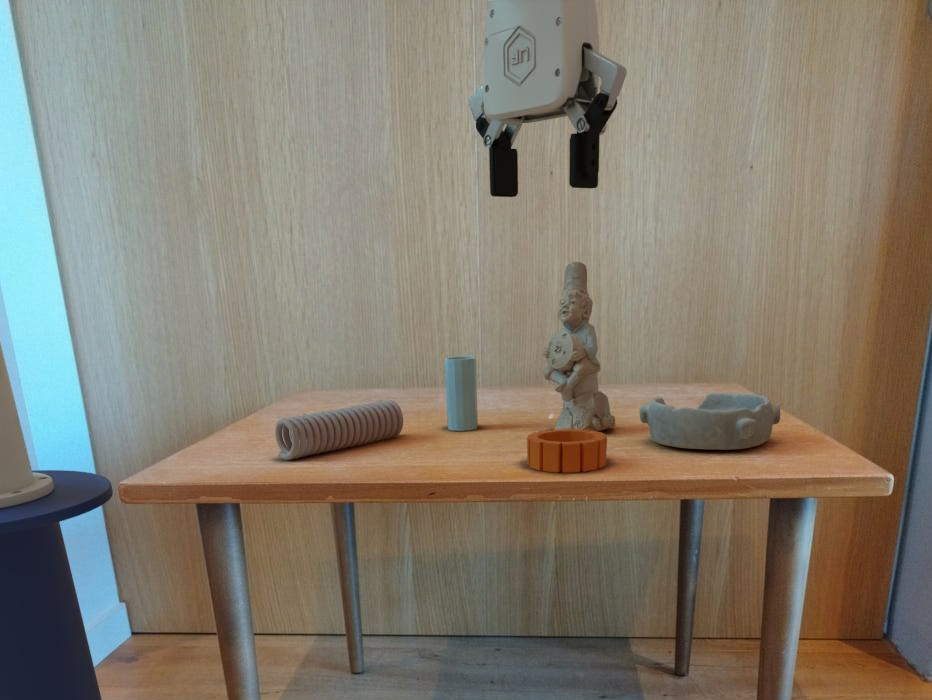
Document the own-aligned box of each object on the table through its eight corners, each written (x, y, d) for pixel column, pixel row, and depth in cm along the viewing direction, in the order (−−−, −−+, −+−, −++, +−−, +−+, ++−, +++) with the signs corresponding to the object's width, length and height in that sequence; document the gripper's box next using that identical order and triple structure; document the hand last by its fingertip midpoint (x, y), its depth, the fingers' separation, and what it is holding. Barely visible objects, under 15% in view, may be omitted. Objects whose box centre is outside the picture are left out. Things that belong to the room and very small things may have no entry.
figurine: (572, 423, 115) (575, 261, 107) (626, 428, 110) (633, 259, 101) (533, 433, 109) (532, 263, 100) (587, 440, 104) (591, 261, 95)
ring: (558, 476, 87) (558, 447, 85) (512, 462, 93) (512, 435, 92) (621, 465, 91) (622, 436, 89) (573, 452, 97) (573, 426, 96)
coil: (382, 399, 109) (264, 419, 97) (406, 398, 106) (288, 419, 94) (387, 436, 111) (272, 460, 99) (411, 436, 108) (295, 461, 96)
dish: (624, 443, 101) (626, 400, 99) (697, 427, 109) (700, 387, 107) (727, 461, 91) (731, 413, 89) (798, 442, 99) (804, 398, 97)
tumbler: (457, 432, 111) (454, 360, 107) (442, 427, 114) (439, 358, 111) (483, 428, 113) (481, 357, 109) (467, 424, 116) (465, 355, 112)
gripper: (438, -23, 74) (448, 198, 81) (595, -82, 62) (590, 182, 69) (499, -8, 78) (503, 200, 85) (654, -60, 67) (645, 185, 74)
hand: (542, 192), depth 77 cm, fingers open, 9 cm apart
